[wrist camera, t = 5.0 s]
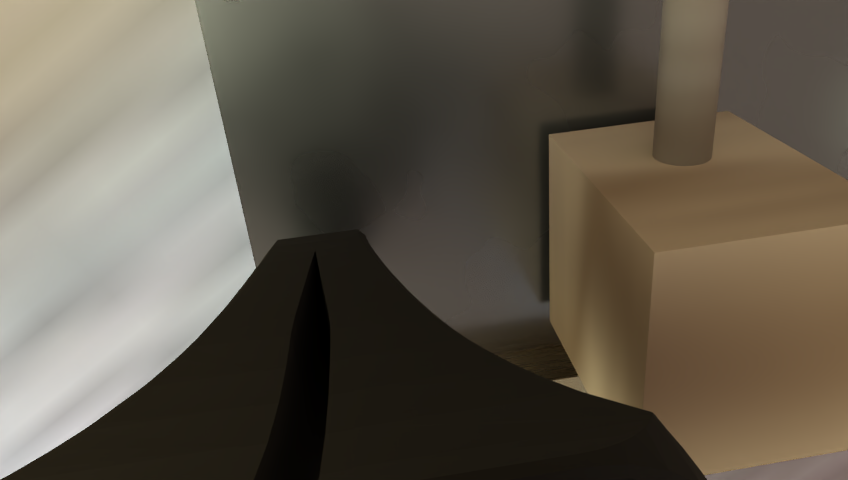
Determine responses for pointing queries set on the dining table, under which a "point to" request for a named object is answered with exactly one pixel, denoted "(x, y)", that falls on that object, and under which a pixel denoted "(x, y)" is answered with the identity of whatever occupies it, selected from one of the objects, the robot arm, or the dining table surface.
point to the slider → (703, 266)
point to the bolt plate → (480, 128)
